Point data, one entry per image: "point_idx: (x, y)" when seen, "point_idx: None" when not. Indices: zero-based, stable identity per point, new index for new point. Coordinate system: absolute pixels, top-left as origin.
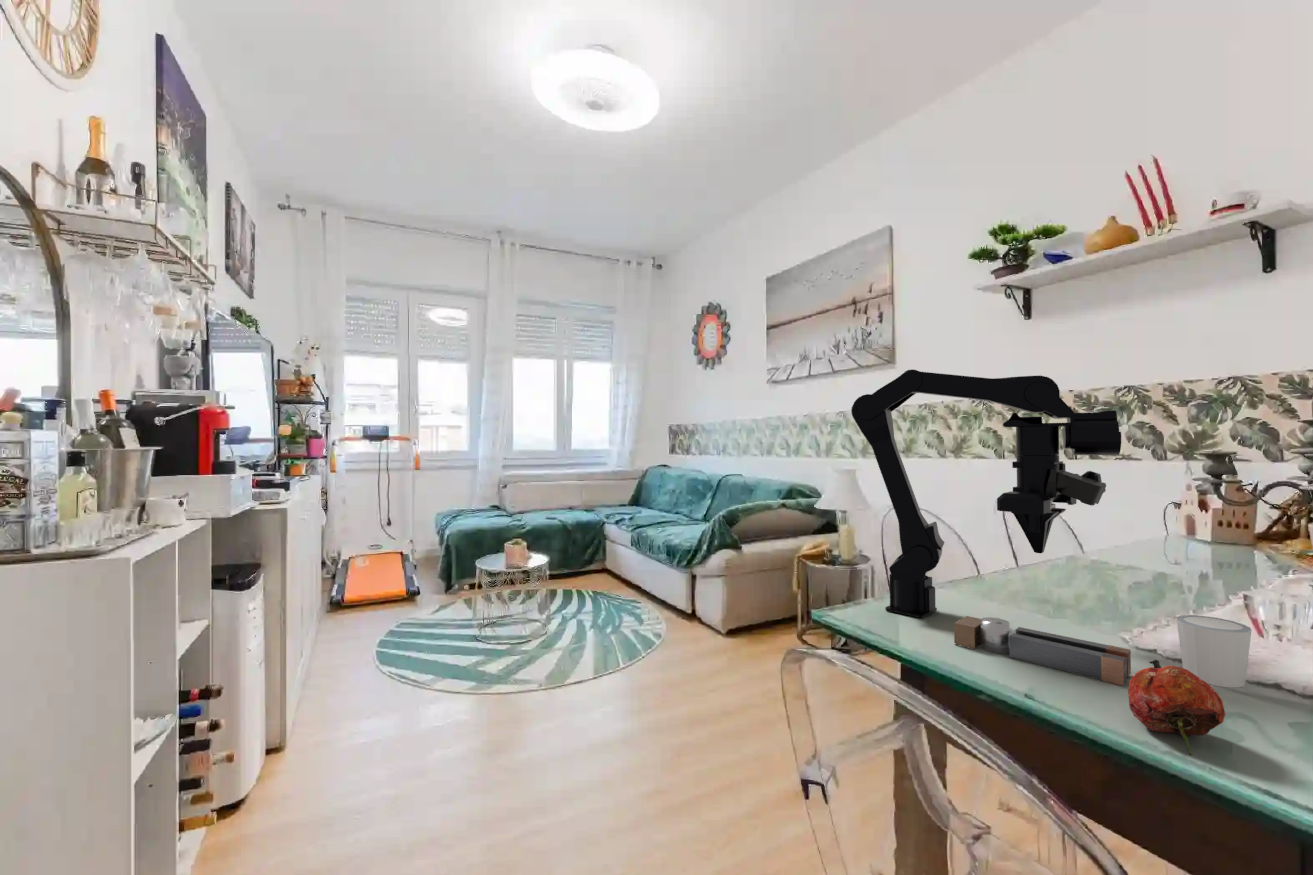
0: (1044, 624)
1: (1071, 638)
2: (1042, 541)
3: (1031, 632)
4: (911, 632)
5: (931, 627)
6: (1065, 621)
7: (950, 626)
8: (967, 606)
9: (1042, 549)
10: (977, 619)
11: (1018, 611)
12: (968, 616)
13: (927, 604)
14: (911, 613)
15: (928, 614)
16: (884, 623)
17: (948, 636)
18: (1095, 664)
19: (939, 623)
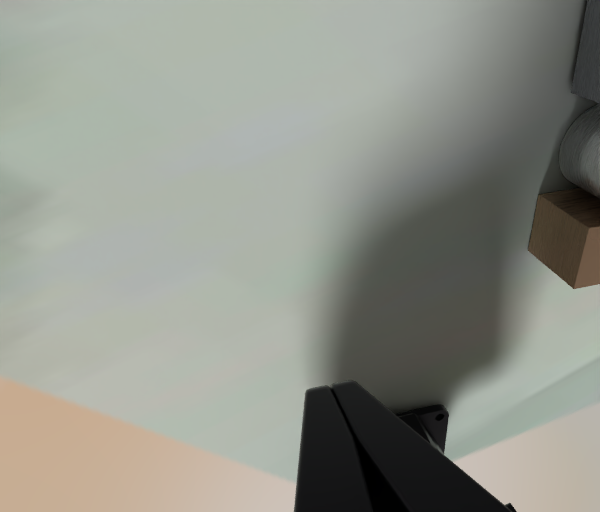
0: (167, 169)
1: None
2: (438, 454)
3: None
4: (576, 345)
5: (500, 346)
6: (23, 133)
7: (454, 327)
8: (182, 423)
9: (372, 397)
10: (597, 249)
11: (67, 311)
12: (575, 283)
13: (429, 436)
14: (444, 430)
15: (395, 414)
16: (541, 415)
17: (554, 280)
18: None
19: (446, 357)
